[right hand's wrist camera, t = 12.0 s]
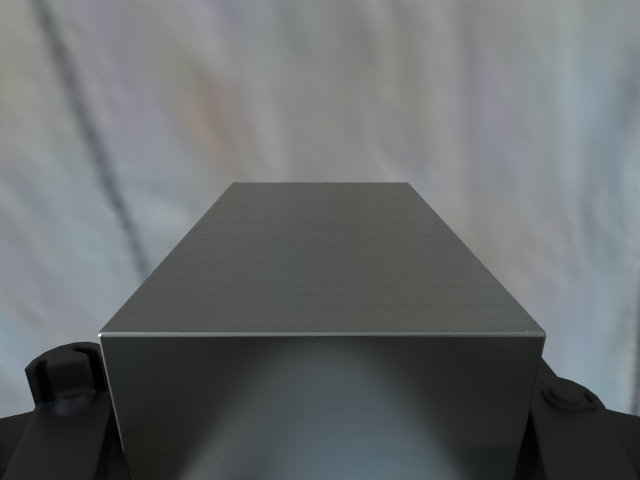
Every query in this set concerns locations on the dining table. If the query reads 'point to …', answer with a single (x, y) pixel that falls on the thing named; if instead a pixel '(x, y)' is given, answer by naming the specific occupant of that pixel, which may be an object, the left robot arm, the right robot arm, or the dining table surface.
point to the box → (321, 345)
